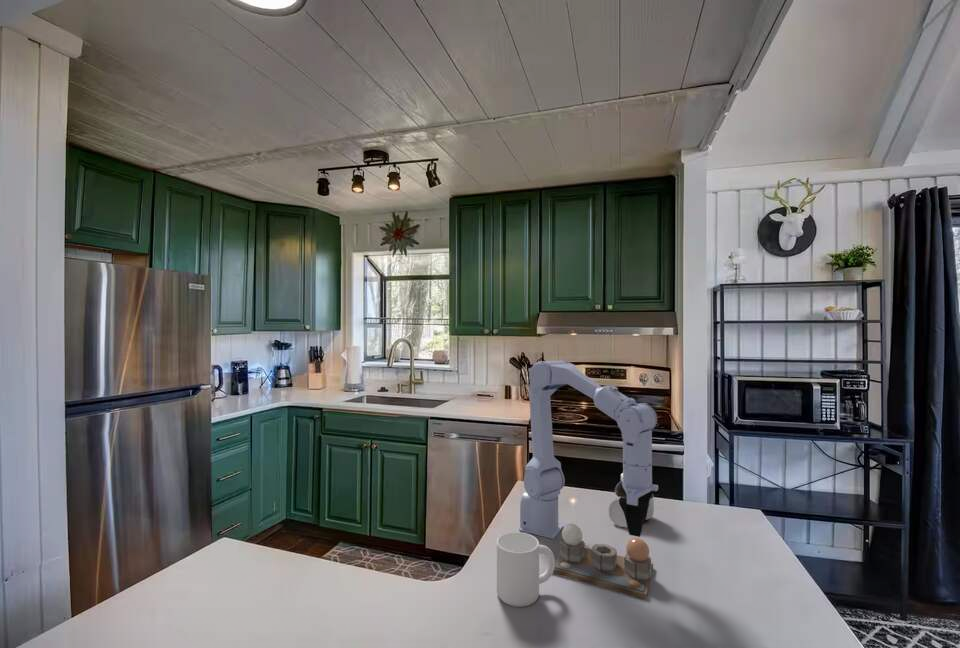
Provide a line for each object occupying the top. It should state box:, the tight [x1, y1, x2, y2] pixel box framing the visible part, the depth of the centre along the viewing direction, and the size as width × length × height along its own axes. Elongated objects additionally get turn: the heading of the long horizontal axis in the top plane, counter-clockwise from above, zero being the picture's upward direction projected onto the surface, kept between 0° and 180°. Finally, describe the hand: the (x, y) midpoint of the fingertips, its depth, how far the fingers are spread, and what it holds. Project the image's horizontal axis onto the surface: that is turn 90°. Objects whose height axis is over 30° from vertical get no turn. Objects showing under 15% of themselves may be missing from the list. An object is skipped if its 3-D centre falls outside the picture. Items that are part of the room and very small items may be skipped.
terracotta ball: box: [626, 537, 650, 562], centre depth 90 cm, size 4×4×4 cm
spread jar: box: [608, 472, 655, 528], centre depth 116 cm, size 12×11×12 cm
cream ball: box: [561, 523, 583, 546], centre depth 96 cm, size 4×4×4 cm
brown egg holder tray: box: [552, 538, 654, 600], centre depth 92 cm, size 19×12×4 cm, turn 62°
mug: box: [496, 531, 556, 608], centre depth 84 cm, size 12×8×10 cm
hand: (637, 527), depth 90 cm, fingers open, 7 cm apart
